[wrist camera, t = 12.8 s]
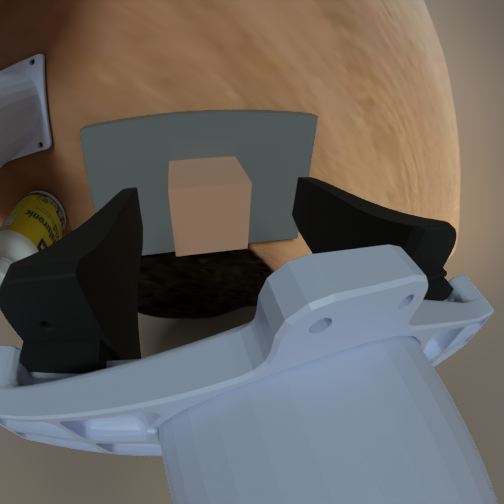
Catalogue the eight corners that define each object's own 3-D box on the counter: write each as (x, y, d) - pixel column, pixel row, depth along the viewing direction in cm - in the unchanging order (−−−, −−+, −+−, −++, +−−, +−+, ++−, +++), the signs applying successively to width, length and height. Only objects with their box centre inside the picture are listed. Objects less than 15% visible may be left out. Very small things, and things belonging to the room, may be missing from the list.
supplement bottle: (77, 227, 21) (47, 311, 14) (39, 246, 21) (6, 326, 13) (49, 177, 17) (-4, 250, 10) (11, 203, 17) (-39, 277, 10)
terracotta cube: (174, 218, 22) (176, 256, 18) (168, 161, 19) (168, 189, 15) (233, 212, 23) (247, 248, 19) (235, 156, 20) (251, 182, 16)
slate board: (111, 251, 23) (109, 259, 23) (84, 126, 16) (79, 129, 15) (292, 231, 28) (297, 238, 27) (311, 113, 20) (317, 116, 19)
